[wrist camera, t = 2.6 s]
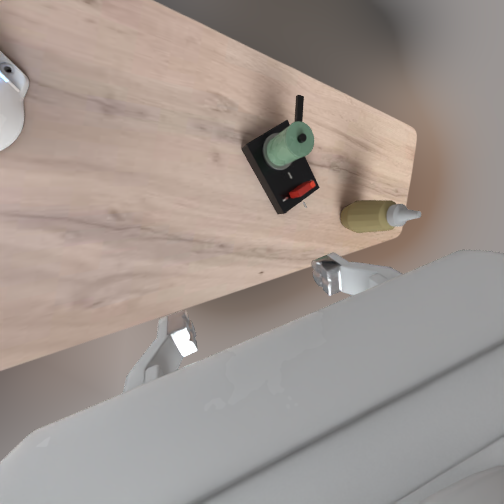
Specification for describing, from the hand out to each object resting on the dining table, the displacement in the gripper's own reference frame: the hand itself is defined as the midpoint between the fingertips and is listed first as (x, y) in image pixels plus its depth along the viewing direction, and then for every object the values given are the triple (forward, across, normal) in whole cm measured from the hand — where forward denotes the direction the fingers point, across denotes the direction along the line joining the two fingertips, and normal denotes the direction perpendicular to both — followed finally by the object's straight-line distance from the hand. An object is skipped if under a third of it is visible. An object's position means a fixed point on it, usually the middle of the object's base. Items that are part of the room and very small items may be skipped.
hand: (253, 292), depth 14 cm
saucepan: (+38, -19, -5) cm, 42 cm away
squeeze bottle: (+39, -35, +18) cm, 55 cm away
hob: (+40, -19, +2) cm, 44 cm away
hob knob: (+36, -21, +6) cm, 42 cm away
